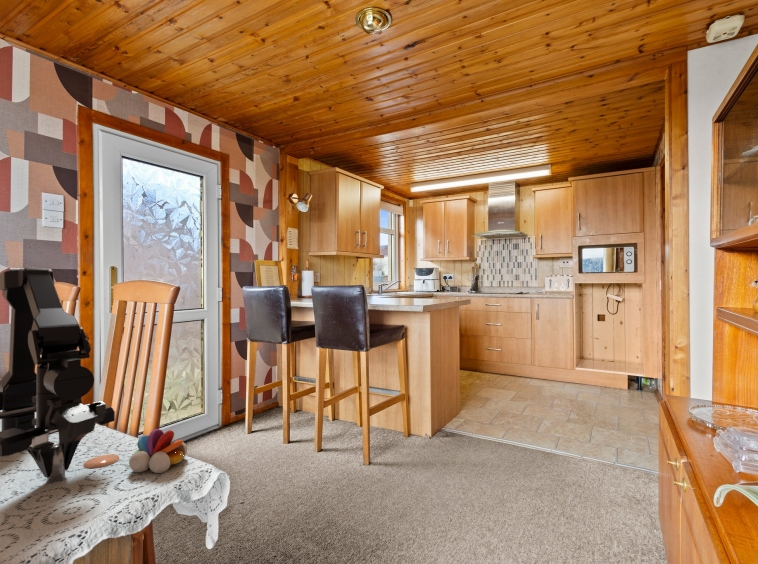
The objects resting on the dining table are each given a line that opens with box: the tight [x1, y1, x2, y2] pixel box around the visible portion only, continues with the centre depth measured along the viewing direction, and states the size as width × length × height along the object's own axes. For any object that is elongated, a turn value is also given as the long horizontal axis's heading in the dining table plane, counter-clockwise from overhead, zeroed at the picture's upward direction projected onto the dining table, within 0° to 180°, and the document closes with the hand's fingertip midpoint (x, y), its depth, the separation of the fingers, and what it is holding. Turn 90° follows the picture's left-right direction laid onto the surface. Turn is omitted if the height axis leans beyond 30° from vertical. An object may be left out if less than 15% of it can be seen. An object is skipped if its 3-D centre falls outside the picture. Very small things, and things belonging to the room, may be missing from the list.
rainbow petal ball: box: [128, 428, 188, 474], centre depth 80 cm, size 8×10×7 cm
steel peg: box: [46, 443, 66, 483], centre depth 74 cm, size 3×3×6 cm
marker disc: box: [82, 454, 120, 469], centre depth 81 cm, size 6×6×1 cm
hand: (56, 473), depth 74 cm, fingers closed on steel peg, 3 cm apart
